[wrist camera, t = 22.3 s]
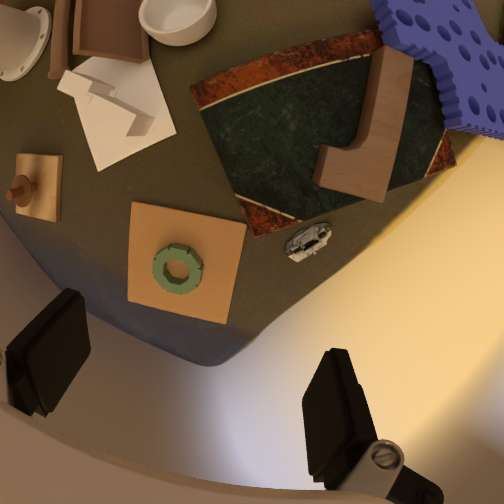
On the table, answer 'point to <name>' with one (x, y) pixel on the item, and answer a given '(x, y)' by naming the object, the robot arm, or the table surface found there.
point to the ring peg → (37, 186)
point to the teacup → (177, 20)
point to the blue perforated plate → (451, 58)
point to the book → (310, 126)
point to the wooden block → (371, 132)
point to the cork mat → (204, 243)
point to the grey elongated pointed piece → (304, 237)
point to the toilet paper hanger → (98, 32)
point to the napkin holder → (118, 107)
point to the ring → (184, 255)
